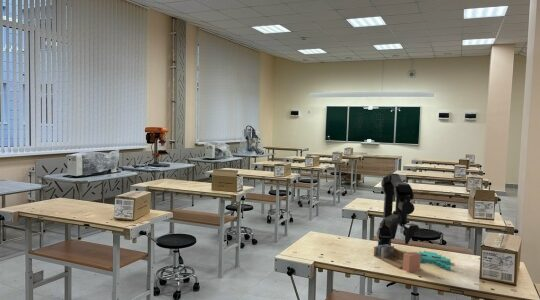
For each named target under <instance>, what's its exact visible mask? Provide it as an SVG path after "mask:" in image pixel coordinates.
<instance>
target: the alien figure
mask: <svg viewBox="0 0 540 300" xmlns="http://www.w3.org/2000/svg"><path fill="white" fill-rule="evenodd" d="M415 252H416V253H419V254H421V261H420V264H422V263H428V264H432V263H433V264H434V265H435V266H436V267H439V268H441V269H444V270H445V271H448V272H449V271H450V272H451V269H452V268H451V263H452V261H451V258H447V257H446V256H442V254H438V253H437V252H433V251H426V250H423V251H418V252H417V251H415Z"/></svg>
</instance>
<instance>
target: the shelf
mask: <svg viewBox="0 0 540 300" xmlns="http://www.w3.org/2000/svg"><path fill="white" fill-rule="evenodd" d="M373 248H374V249H373V257H375V258H377V259H379V260H381V261H383V262H385V263H386V264H389V265H391V266H393V267H395V268H397V269H399V270H401V269H402V270H403V255H404V253H406V252H405V251H403V250H400V249H398V248H395V246H394V245H391V246H390V245H388V244H385V245H378V244H377V246H374V247H373Z"/></svg>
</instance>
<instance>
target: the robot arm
mask: <svg viewBox="0 0 540 300" xmlns="http://www.w3.org/2000/svg"><path fill="white" fill-rule="evenodd" d="M381 190H382V192H383V194H384V200H383V213H382V220H381V222H380V223H379V227H378V228H377V231H376V237H377V239H378V241H377V246H378V245H385V244H388V245H390V246H392V240H394V239H396V234H397V231H398V226H400V227H402V228H403V233H404V245H408V244H409V243H410V241H411V239H412V237H413V236H414V234H415V233H418V232H419V231H420V226H419V225H418V224H415V223H410V220H408V216H409V215H411V214H413V212H414V211H415V206H414V203H412V201H411V200H414V197H415V196H414V192H413V188H412V186H411V184H409V183H407V182H404V180H402V179H401V177H400V174H398V173H393V172H392V173H388V174H387V175H385V176H384V177H382V179H381ZM394 197H395V210H393V204H394V203H393V202H394Z"/></svg>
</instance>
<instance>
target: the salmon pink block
mask: <svg viewBox="0 0 540 300" xmlns="http://www.w3.org/2000/svg"><path fill="white" fill-rule="evenodd" d="M416 252H417V251H411V252H405V253H404V255H403V268H402V270H403V271H405V272H407V273H413V272H420V270H421V263H420V261H421V254H419V252H418V253H416Z"/></svg>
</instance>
